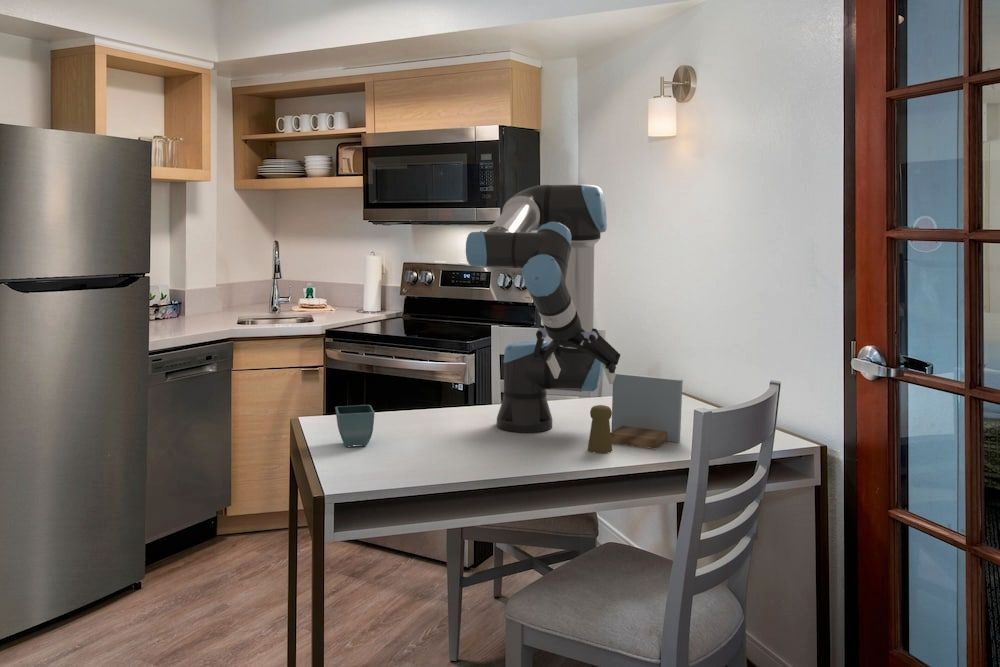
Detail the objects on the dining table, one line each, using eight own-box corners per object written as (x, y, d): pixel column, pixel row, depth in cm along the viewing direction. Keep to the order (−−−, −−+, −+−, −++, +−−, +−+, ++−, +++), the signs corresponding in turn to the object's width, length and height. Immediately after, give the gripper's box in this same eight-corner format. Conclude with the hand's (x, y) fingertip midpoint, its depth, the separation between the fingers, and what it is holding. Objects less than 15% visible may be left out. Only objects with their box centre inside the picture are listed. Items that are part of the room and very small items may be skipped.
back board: (611, 433, 224) (613, 373, 222) (613, 432, 225) (615, 372, 223) (678, 442, 215) (680, 380, 213) (680, 441, 217) (682, 379, 215)
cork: (596, 445, 212) (597, 402, 210) (617, 449, 208) (618, 405, 206) (582, 450, 207) (583, 406, 206) (603, 454, 203) (605, 409, 202)
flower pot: (338, 450, 204) (338, 413, 203) (335, 441, 212) (335, 406, 211) (375, 448, 206) (374, 412, 205) (370, 439, 215) (370, 404, 214)
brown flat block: (609, 442, 215) (610, 432, 214) (622, 435, 222) (622, 425, 222) (655, 449, 209) (656, 439, 209) (666, 441, 217) (667, 431, 216)
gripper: (501, 326, 184) (530, 384, 198) (610, 334, 172) (632, 395, 187) (512, 300, 188) (540, 359, 203) (620, 306, 176) (641, 368, 191)
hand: (584, 376), depth 195 cm, fingers open, 13 cm apart
